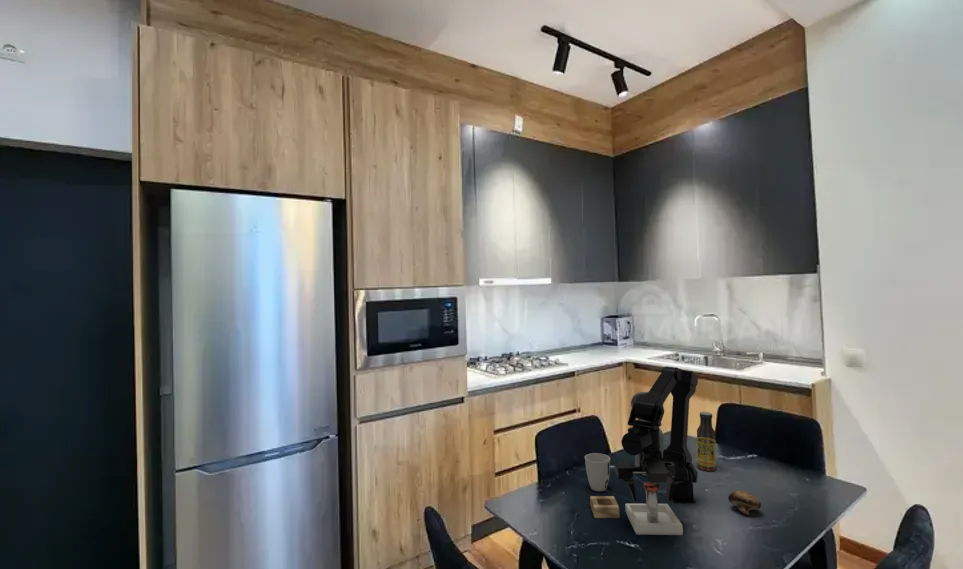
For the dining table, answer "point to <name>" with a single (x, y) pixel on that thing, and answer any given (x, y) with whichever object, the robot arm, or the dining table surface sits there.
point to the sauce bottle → (706, 443)
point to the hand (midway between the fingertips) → (651, 501)
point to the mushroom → (744, 501)
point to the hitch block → (604, 507)
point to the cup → (598, 470)
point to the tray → (665, 525)
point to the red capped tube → (651, 501)
